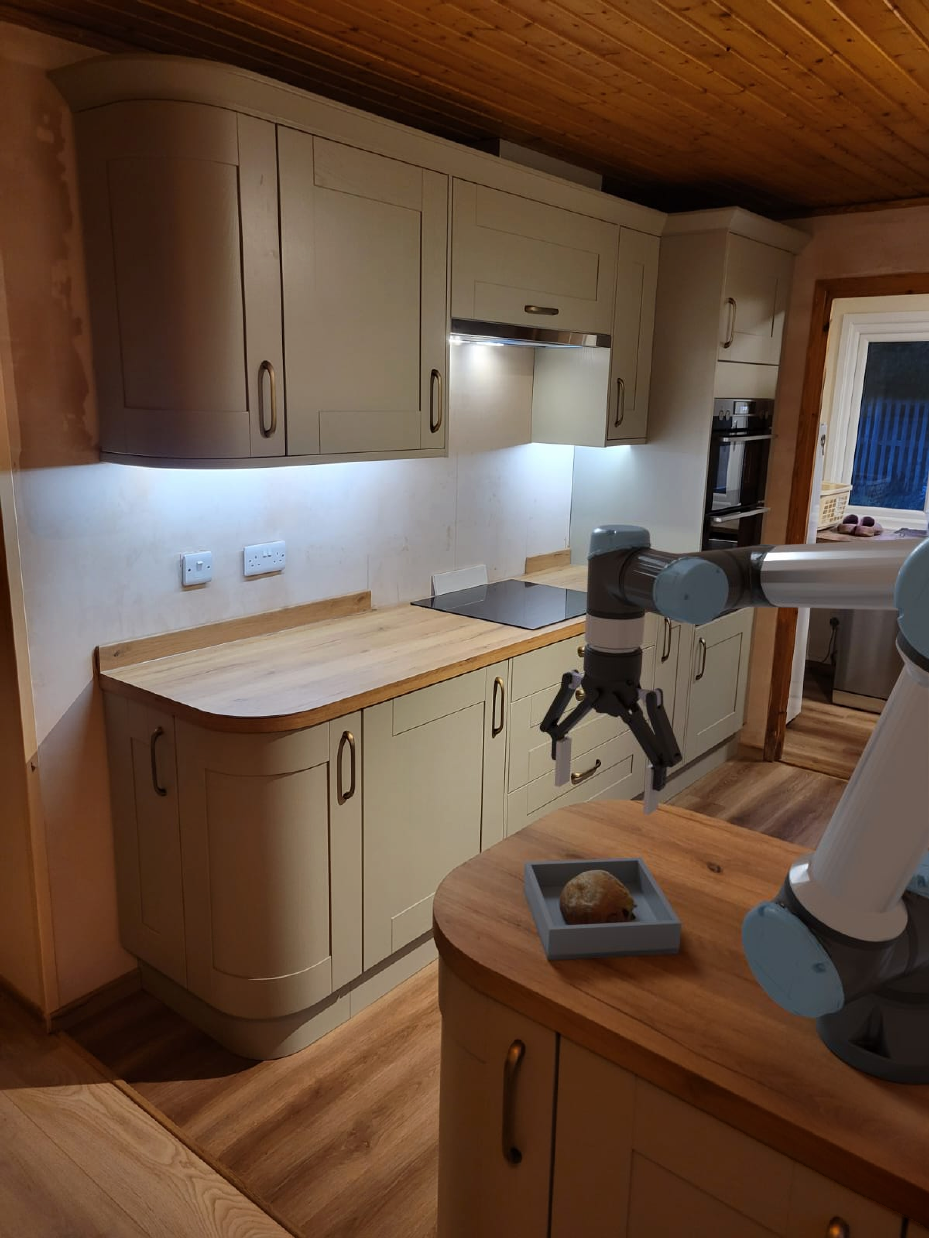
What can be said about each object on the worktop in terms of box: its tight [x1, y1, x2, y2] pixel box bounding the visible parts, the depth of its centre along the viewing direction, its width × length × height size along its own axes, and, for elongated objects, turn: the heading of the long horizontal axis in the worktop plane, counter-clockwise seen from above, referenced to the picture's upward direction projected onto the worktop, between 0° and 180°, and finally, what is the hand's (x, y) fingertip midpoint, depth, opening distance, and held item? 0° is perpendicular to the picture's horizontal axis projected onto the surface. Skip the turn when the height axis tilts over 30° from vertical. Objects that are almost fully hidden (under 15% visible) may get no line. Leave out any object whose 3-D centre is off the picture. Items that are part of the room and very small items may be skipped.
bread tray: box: [523, 856, 682, 961], centre depth 130 cm, size 18×18×4 cm
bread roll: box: [559, 870, 638, 925], centre depth 130 cm, size 10×10×8 cm
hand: (604, 796), depth 126 cm, fingers open, 13 cm apart
